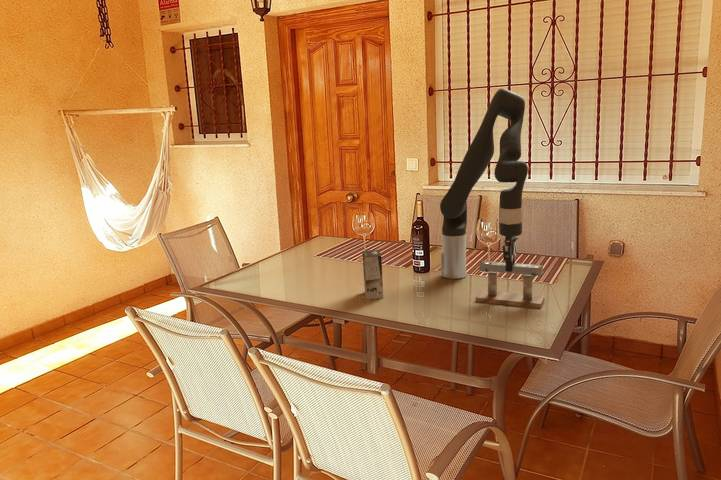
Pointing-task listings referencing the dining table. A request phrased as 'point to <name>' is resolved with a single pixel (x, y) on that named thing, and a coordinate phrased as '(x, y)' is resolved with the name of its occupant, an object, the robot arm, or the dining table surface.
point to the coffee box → (372, 274)
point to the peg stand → (510, 294)
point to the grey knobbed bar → (516, 268)
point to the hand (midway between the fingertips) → (510, 269)
